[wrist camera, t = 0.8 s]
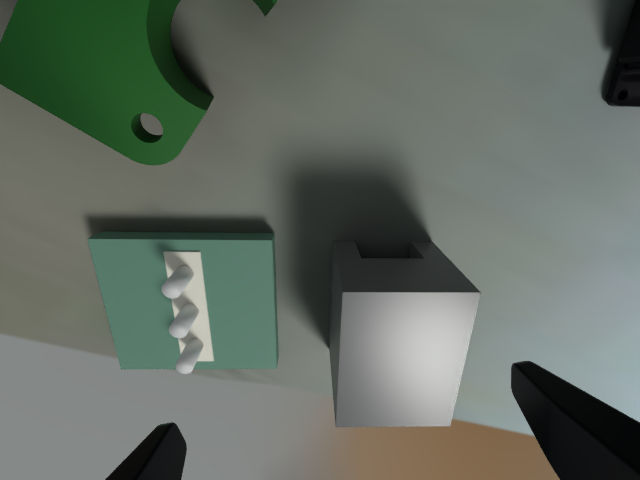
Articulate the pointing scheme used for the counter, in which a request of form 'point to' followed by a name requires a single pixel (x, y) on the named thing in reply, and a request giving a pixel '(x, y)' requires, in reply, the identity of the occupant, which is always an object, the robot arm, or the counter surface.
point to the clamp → (105, 71)
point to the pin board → (189, 298)
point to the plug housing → (398, 336)
